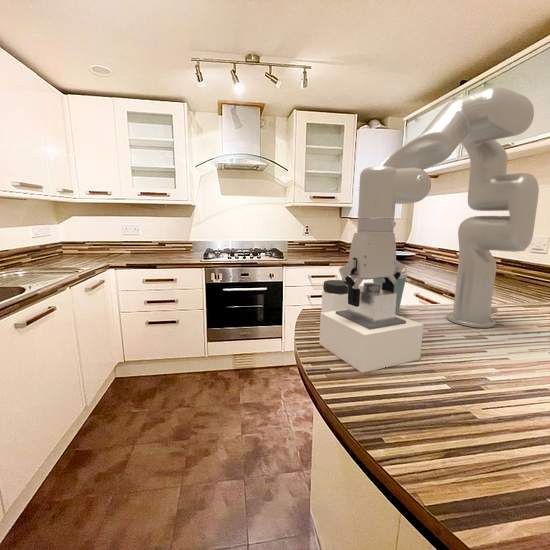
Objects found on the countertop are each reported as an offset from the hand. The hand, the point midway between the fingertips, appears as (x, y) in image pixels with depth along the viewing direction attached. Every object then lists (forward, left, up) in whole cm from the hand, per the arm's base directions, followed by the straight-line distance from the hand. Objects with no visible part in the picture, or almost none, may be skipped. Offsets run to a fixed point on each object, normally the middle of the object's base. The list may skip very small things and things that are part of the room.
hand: (370, 302), depth 71 cm
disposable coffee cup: (-26, -21, -12) cm, 35 cm away
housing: (0, 0, -3) cm, 3 cm away
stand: (0, 0, -12) cm, 12 cm away
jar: (-6, -21, -12) cm, 25 cm away
